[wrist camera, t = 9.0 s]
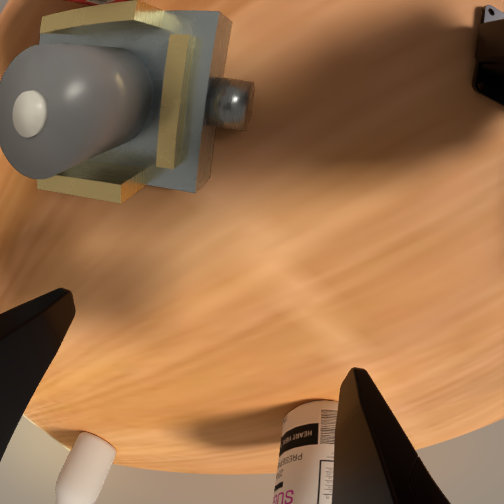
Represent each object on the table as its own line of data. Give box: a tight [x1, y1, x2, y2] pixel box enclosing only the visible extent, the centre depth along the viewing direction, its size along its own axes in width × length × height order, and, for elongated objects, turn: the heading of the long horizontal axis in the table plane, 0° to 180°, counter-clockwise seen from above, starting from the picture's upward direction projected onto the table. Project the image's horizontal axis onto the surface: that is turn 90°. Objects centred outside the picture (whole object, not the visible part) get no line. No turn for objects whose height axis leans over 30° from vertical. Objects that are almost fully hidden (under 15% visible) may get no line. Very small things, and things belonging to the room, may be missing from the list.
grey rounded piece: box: [0, 44, 153, 179], centre depth 13 cm, size 6×6×6 cm
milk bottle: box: [55, 432, 116, 504], centre depth 38 cm, size 8×8×20 cm
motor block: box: [37, 0, 254, 204], centre depth 15 cm, size 14×10×6 cm
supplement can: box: [273, 400, 339, 504], centre depth 25 cm, size 8×8×15 cm
